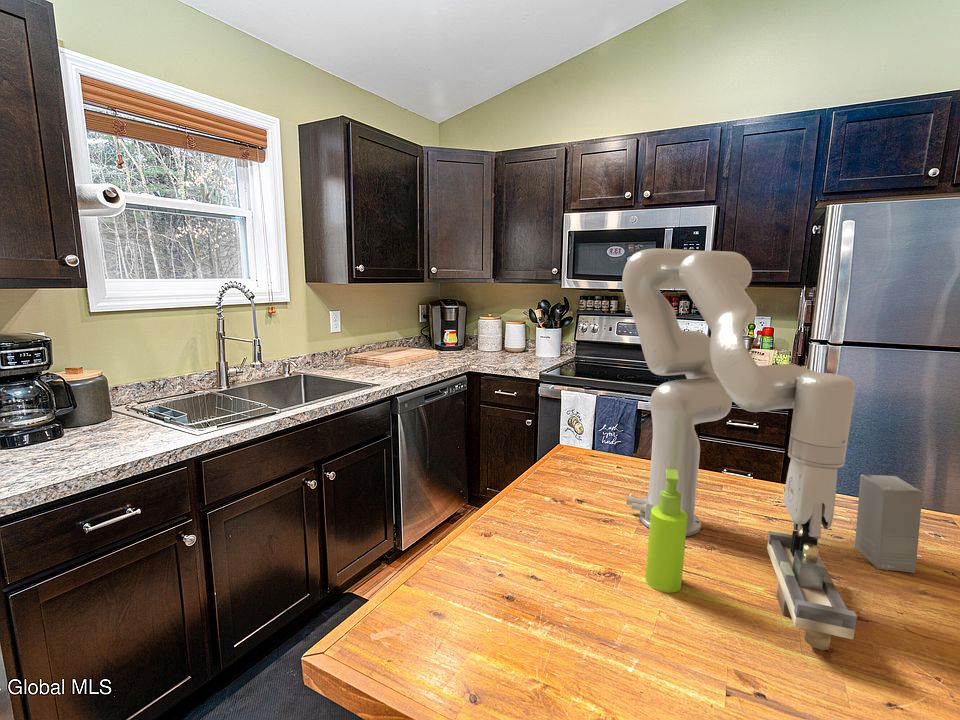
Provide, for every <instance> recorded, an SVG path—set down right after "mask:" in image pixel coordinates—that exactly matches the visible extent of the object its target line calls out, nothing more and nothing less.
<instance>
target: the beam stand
mask: <svg viewBox="0 0 960 720" xmlns="http://www.w3.org/2000/svg"><path fill="white" fill-rule="evenodd" d="M791 541H792V534H789V533H783V532H778V531H772V530H769V531H768V538H767V547H766V549H767V550H766V551H767V553H768V555H769V558H770V561H771V564H772V566H773V569H774V572H775V574H776V578H777V580H778V585H777V592H776V598H777V601H778V604H779V607H780V611H781V613H782V615H783V616H787V617H789V618H790V617H791V620H792V623H793V625H794V627H796V628H801V629H805V632H804V641H805V642H806V643H807V644H808V645H810V646H811V647H813V648H814V649H818V650H821V651H827V650H828V649H830V646H831V638H832V635H833V636H836V637H840V638H844V639H848V640H854V638H855V632H856V626H857V620H858V615H857V614H856V612H855V611H854V610H849V609H848V608H847V606H846V604H845V603H844V600H843V598H842V597H841V595H840V593H839V591H838V589H837V588H836V586H835V583H834V581H833V579H832V578H831V575H830V574H829V572H828V570H827V569H826V568H825V572H824V579H823V586H822V591H819V590H814V589H809V588H804V587H799V586H798V583H797V581H796V578H795V575H794V573H793V571H792V568H793V561H794V557H793V556H792V553H791V551H790V549H791Z"/></svg>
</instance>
